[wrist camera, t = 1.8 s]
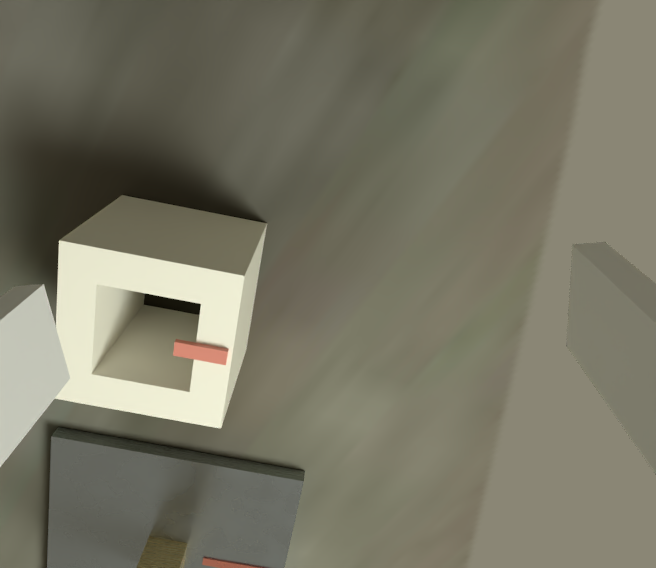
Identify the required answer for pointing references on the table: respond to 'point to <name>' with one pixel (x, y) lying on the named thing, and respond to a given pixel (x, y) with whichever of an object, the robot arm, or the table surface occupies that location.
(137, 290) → the cream open box
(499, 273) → the table surface
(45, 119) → the table surface
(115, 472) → the base plate
